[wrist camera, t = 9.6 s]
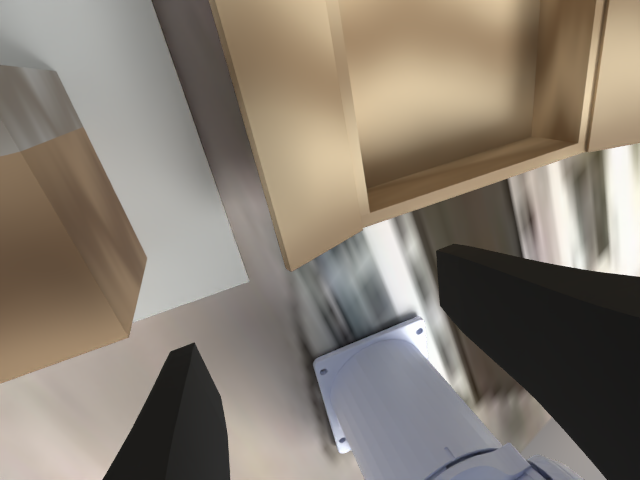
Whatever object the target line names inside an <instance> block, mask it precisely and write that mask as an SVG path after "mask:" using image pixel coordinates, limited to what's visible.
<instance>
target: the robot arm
mask: <svg viewBox="0 0 640 480" xmlns="http://www.w3.org/2000/svg"><path fill="white" fill-rule="evenodd" d="M436 255H437V269H438V284H439V298H440V306H441V307H442V308H443V310H444V311H445V312H446V313H447V315H448V316H449V317H450V318H451V319H452V321H453V322H454V323H455V324H456V325H457V326H458V327H459V329H460V330H461V331H462V332H463V333H464V334H465V335H466V336H467V337H468V338H470V339H471V340H472V341H473V342H474V343H475V344H476V345H477V346H478V347H479V348H480V349H482V350H483V351H484V352H485V353H486V354H487V355H488V356H489V357H490V358H492V359H493V360H494V361H495V362H496V363H497V364H498V365H499V366H500V367H502V368H503V369H504V370H505V371H506V372H507V373H508V374H509V375H510V376H512V377H513V378H514V379H515V380H516V381H517V382H518V383H519V384H520V385H521V386H523V387H524V388H525V389H526V390H527V391H528V392H529V393H530V394H531V395H532V396H533V397H534V398H535V399H536V400H537V401H538V402H539V403H540V404H541V405H542V407H543V408H544V409H545V410H546V411H547V412H548V413H549V414H550V415H551V416H552V417H553V418H554V420H555V421H556V422H557V423H558V424H559V425H560V426H561V427H562V428H563V429H564V430H565V432H566V433H567V434H568V435H569V436H570V437H571V438H572V440H573V441H574V442H575V443H576V444H577V445H578V446H579V448H580V449H581V450H582V451H583V452H584V453H585V454H586V456H588V458H589V459H590V460H591V461H592V462H593V464H594V465H595V466H596V467H597V468H598V469H599V471H600V472H601V473H602V474H603V475H604V477H605V478H606V479H607V480H640V277H636V276H628V275H619V274H611V273H603V272H596V271H589V270H582V269H577V268H571V267H565V266H560V265H554V264H549V263H544V262H539V261H534V260H529V259H525V258H520V257H516V256H511V255H507V254H502V253H498V252H493V251H489V250H484V249H480V248H475V247H470V246H464V245H458V244H452V245H450V246H447V247H444V248H442V249H439V250H437V251H436ZM313 367H314V370H315V374H316V377H317V381H318V384H319V387H320V391H321V394H322V398H323V401H324V405H325V408H326V412H327V415H328V418H329V422H330V425H331V429H332V432H333V436H334V439H335V443H336V446H337V449H338V451H339V453H346V452H348V451H350V450H352V452H353V454H354V457H355V459H356V461H357V463H358V466H359V468H360V470H361V472H362V474H363V477H364V479H365V480H584V479H583V478H582V477H581V476H580V475H578V474H577V473H576V472H574V471H573V470H572V469H571V468H569V467H568V466H566V465H565V464H563V463H561V462H559V461H557V460H553V459H550V458H546V457H544V456H542V455H539V454H535V455H533V456H531V457H530V458H529V459H527V460H525V459H524V457H523V456H522V455H521V454H520V453H519V452H518V451H517V450H516V449H515V447H514V446H513V445H512V444H511V443H507V444H505V445H504V446H503V445H502V444H501V443H500V442H499V441H498V440H497V439H496V437H495V436H494V435H493V434H492V433H491V432H490V431H489V429H488V428H487V427H486V426H485V425H484V424H483V423H482V421H481V420H480V419H479V418H478V417H477V416H476V415H475V413H474V412H473V411H472V410H471V409H470V408H469V407H468V405H467V404H466V403H465V402H464V401H463V400H462V399H461V397H460V396H459V395H458V394H457V393H456V392H455V391H454V389H453V388H452V387H451V386H450V385H449V384H448V383H447V381H446V380H445V379H444V378H443V377H442V376H441V375H440V373H439V372H438V371H437V370H436V369H435V368H434V367H433V365H432V364H431V363H430V362H429V361H428V352H427V341H426V329H425V321H424V320H423V319H422V318H421V317H414V318H412V319H410V320H407V321H405V322H402V323H400V324H398V325H395V326H393V327H390V328H388V329H385V330H383V331H381V332H378V333H376V334H373V335H371V336H369V337H366V338H364V339H361V340H359V341H356V342H354V343H352V344H349V345H347V346H344V347H342V348H340V349H337V350H335V351H332V352H330V353H328V354H325V355H323V356H320V357H318V358H316V359H315V361H314V363H313ZM322 369H324V370H323V371H321V370H322ZM103 480H230V467H229V450H228V435H227V428H226V422H225V417H224V411H223V406H222V400H221V396H220V394H219V392H218V390H217V388H216V386H215V384H214V382H213V380H212V378H211V376H210V374H209V371H208V369H207V367H206V365H205V363H204V361H203V359H202V357H201V355H200V353H199V351H198V349H197V347H196V345H195V343H192V344H189V345H187V346H184V347H181V348H179V349H176V350H174V351H171V352H170V354H169V355H168V357H167V359H166V361H165V363H164V365H163V367H162V369H161V372H160V374H159V376H158V378H157V380H156V382H155V384H154V386H153V388H152V390H151V392H150V394H149V396H148V398H147V400H146V402H145V404H144V406H143V408H142V410H141V412H140V414H139V416H138V418H137V420H136V422H135V423H134V425H133V427H132V429H131V431H130V433H129V435H128V437H127V438H126V440H125V442H124V444H123V445H122V447H121V449H120V451H119V452H118V454H117V456H116V457H115V459H114V461H113V463H112V464H111V466H110V468H109V470H108V471H107V473H106V475H105V476H104V478H103Z"/></svg>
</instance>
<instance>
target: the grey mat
mask: <svg viewBox="0 0 640 480" xmlns="http://www.w3.org/2000/svg"><path fill="white" fill-rule="evenodd" d="M0 65H7V66H16V67H25V68H33V69H42V70H51V71H56V72H57V74H58V76H59V78H60V80H61V82H62V84H63V86H64V88H65V90H66V92H67V94H68V96H69V98H70V101H71V103H72V105H73V107H74V109H75V111H76V113H77V115H78V117H79V119H80V121H81V123H82V125H83V127H84V129H85V131H86V133H87V135H88V137H89V139H90V141H91V144H92V146H93V148H94V150H95V152H96V154H97V156H98V158H99V160H100V162H101V164H102V166H103V168H104V170H105V172H106V174H107V176H108V178H109V180H110V182H111V185H112V187H113V189H114V191H115V193H116V195H117V197H118V199H119V201H120V203H121V205H122V207H123V209H124V211H125V213H126V215H127V217H128V219H129V221H130V223H131V225H132V228H133V230H134V232H135V234H136V236H137V238H138V240H139V242H140V244H141V246H142V248H143V250H144V252H145V254H146V256H147V262H146V267H145V271H144V275H143V279H142V284H141V288H140V292H139V296H138V301H137V305H136V309H135V313H134V318H133V322H132V323H134V322H136V321H139V320H142V319H145V318H148V317H151V316H153V315H156V314H159V313H162V312H165V311H168V310H170V309H173V308H176V307H179V306H182V305H185V304H188V303H190V302H193V301H196V300H199V299H202V298H205V297H207V296H210V295H213V294H216V293H219V292H222V291H224V290H227V289H230V288H233V287H236V286H239V285H241V284H244V283H247V282H250V281H249V278H248V275H247V272H246V269H245V267H244V264H243V261H242V258H241V255H240V252H239V249H238V247H237V244H236V241H235V238H234V235H233V232H232V229H231V227H230V224H229V221H228V218H227V215H226V212H225V209H224V207H223V204H222V201H221V198H220V195H219V192H218V189H217V187H216V184H215V181H214V178H213V175H212V172H211V169H210V166H209V164H208V161H207V158H206V155H205V152H204V149H203V146H202V144H201V141H200V138H199V135H198V132H197V129H196V126H195V124H194V121H193V118H192V115H191V112H190V109H189V106H188V104H187V101H186V98H185V95H184V92H183V89H182V86H181V83H180V81H179V78H178V75H177V72H176V69H175V66H174V63H173V61H172V58H171V55H170V52H169V49H168V46H167V43H166V41H165V38H164V35H163V32H162V29H161V26H160V23H159V21H158V18H157V15H156V12H155V9H154V6H153V3H152V0H0Z"/></svg>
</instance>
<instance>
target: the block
mask: <svg viewBox="0 0 640 480" xmlns="http://www.w3.org/2000/svg"><path fill="white" fill-rule="evenodd" d="M146 262H147V256H146V254H145V252H144V250H143V248H142V246H141V244H140V242H139V240H138V238H137V236H136V234H135V232H134V230H133V228H132V225H131V223H130V221H129V219H128V217H127V215H126V213H125V211H124V209H123V207H122V205H121V203H120V201H119V199H118V197H117V195H116V193H115V191H114V189H113V187H112V185H111V182H110V180H109V178H108V176H107V174H106V172H105V170H104V168H103V166H102V164H101V162H100V160H99V158H98V156H97V154H96V152H95V150H94V148H93V146H92V144H91V141H90V139H89V137H88V135H87V133H86V131H85V129H84V127H83V125H82V123H81V121H80V119H79V117H78V115H77V113H76V111H75V109H74V107H73V105H72V103H71V101H70V98H69V96H68V94H67V92H66V90H65V88H64V86H63V84H62V82H61V80H60V78H59V76H58V74H57V72H56V71H51V70H42V69H33V68H25V67H16V66H7V65H0V383H3V382H6V381H9V380H12V379H14V378H17V377H20V376H23V375H26V374H28V373H31V372H34V371H37V370H39V369H42V368H45V367H48V366H51V365H53V364H56V363H59V362H62V361H64V360H67V359H70V358H73V357H76V356H78V355H81V354H84V353H87V352H90V351H92V350H95V349H98V348H101V347H103V346H106V345H109V344H112V343H115V342H117V341H120V340H123V339H126V338H129V335H130V330H131V326H132V322H133V318H134V313H135V309H136V305H137V301H138V296H139V292H140V288H141V284H142V279H143V275H144V271H145V267H146Z"/></svg>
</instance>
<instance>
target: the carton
mask: <svg viewBox="0 0 640 480" xmlns="http://www.w3.org/2000/svg"><path fill="white" fill-rule="evenodd" d="M209 4H210V7H211V11H212V14H213V18H214V21H215V25H216V28H217V32H218V35H219V38H220V42H221V45H222V49H223V52H224V56H225V59H226V63H227V66H228V70H229V73H230V77H231V80H232V84H233V87H234V90H235V94H236V97H237V101H238V104H239V108H240V111H241V115H242V118H243V122H244V125H245V129H246V132H247V136H248V139H249V142H250V146H251V149H252V153H253V156H254V160H255V163H256V167H257V170H258V174H259V177H260V181H261V184H262V188H263V191H264V195H265V198H266V201H267V205H268V208H269V212H270V215H271V219H272V222H273V226H274V229H275V233H276V236H277V240H278V243H279V247H280V250H281V253H282V257H283V260H284V264H285V267H286V269H287V270H289V271H291V272H292V271H294V270H296V269H297V268H299V267H301V266H302V265H304V264H306V263H308V262H309V261H311V260H313V259H314V258H316V257H318V256H319V255H321V254H323V253H325V252H326V251H328V250H330V249H331V248H333V247H335V246H336V245H338V244H340V243H342V242H343V241H345V240H347V239H348V238H350V237H352V236H354V235H355V234H357V233H359V232H360V231H362V230H363V228H364V227H367V226H370V225H373V224H376V223H379V222H382V221H385V220H388V219H391V218H393V217H396V216H399V215H402V214H405V213H408V212H411V211H414V210H417V209H420V208H423V207H425V206H428V205H431V204H434V203H437V202H440V201H443V200H446V199H449V198H452V197H455V196H458V195H460V194H463V193H466V192H469V191H472V190H475V189H478V188H481V187H484V186H487V185H490V184H492V183H495V182H498V181H501V180H504V179H507V178H510V177H513V176H516V175H519V174H522V173H524V172H527V171H530V170H533V169H536V168H539V167H542V166H545V165H548V164H551V163H554V162H557V161H559V160H562V159H565V158H568V157H571V156H574V155H577V154H580V153H583V152H593V151H598V150H604V149H609V148H615V147H620V146H625V145H631V144H636V143H640V0H209Z"/></svg>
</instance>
